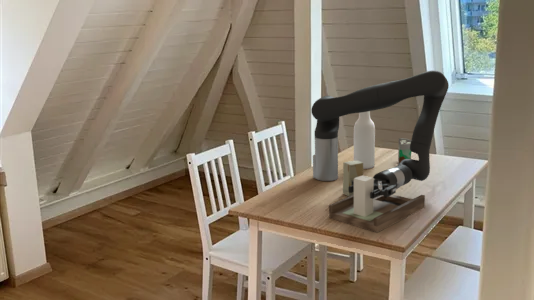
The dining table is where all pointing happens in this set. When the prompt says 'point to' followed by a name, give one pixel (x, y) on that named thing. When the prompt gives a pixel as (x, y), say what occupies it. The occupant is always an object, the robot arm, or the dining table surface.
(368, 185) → the block
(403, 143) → the food container
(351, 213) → the channel
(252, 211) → the dining table surface
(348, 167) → the skincare box
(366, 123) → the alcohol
